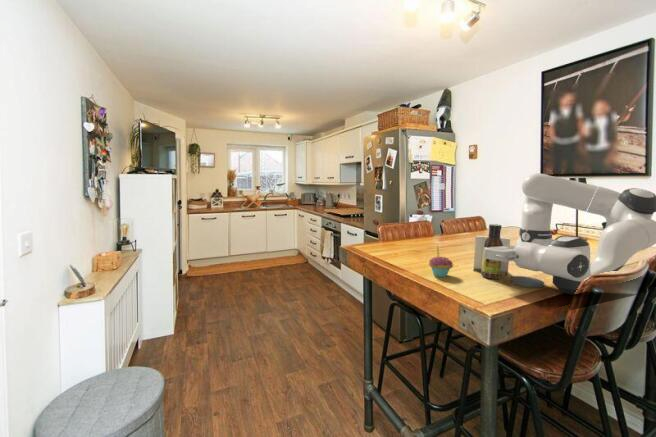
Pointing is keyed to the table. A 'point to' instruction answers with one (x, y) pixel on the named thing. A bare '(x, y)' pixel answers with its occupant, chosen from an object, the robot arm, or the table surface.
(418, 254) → the table surface
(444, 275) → the cupcake
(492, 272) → the sauce bottle
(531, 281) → the slate mat
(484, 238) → the letter plaque
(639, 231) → the robot arm
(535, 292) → the table surface
